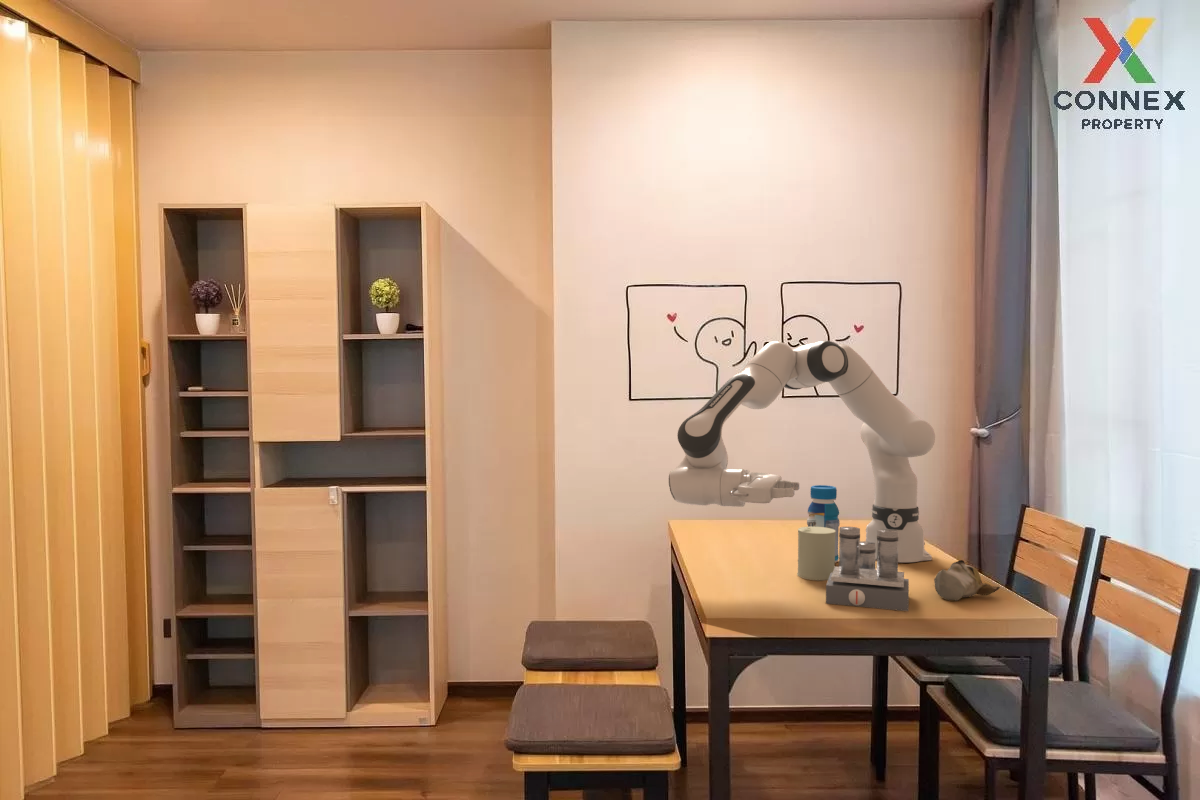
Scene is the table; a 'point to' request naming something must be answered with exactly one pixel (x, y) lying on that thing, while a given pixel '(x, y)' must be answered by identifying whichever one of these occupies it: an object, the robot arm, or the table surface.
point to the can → (816, 552)
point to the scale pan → (868, 578)
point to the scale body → (868, 595)
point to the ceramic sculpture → (961, 582)
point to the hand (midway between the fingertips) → (796, 489)
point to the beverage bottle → (824, 510)
